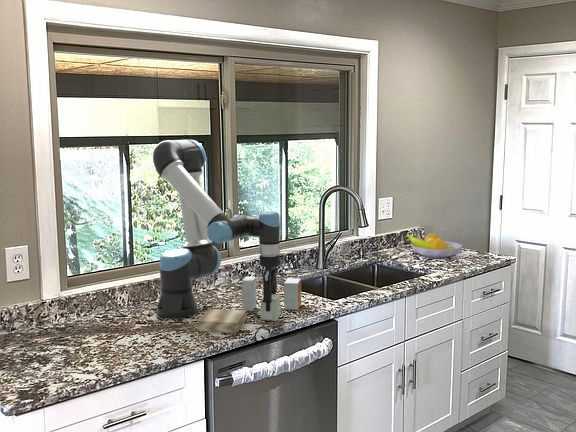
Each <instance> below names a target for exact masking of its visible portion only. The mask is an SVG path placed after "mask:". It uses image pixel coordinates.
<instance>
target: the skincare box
mask: <svg viewBox="0 0 576 432" xmlns="http://www.w3.org/2000/svg"><path fill="white" fill-rule="evenodd" d="M256 307H257V276H245V277H244V278H243V279H242V280H241V310H246V312H253V311H254V310H255V308H256Z"/></svg>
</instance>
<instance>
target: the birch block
mask: <svg viewBox="0 0 576 432" xmlns="http://www.w3.org/2000/svg"><path fill="white" fill-rule="evenodd" d="M247 314H248V313H247V311H246V310H242V309H224V308H222V309H221V308H208V309H207V310H206V311H205V312H204V313H203V315H202V316H201V317H200V318H199V319H198V320H197V321H196V323H197V324H196V326H197V332H211V333H229V334H230V333H231V334H234V333H235V334H237V333H239V331H240V330H241V328H242V327H243V326H244V324H245V323H246V321H247V318H248V317H247Z"/></svg>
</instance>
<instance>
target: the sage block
mask: <svg viewBox="0 0 576 432" xmlns="http://www.w3.org/2000/svg"><path fill="white" fill-rule="evenodd" d="M259 300H260V320H261V321H262V320H263V321H267V320H266V319H265V302H262V301H263V295H262V296H261V297H260V299H259ZM272 314H273V319H272V320H271V321H278V320H279V318H280V316H281V295H280V293H277V294H272Z"/></svg>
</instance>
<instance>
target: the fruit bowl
mask: <svg viewBox="0 0 576 432" xmlns="http://www.w3.org/2000/svg"><path fill="white" fill-rule="evenodd" d="M406 236H407V237H408V239H409V241H410V242H411V243H410V245H411V246H410V247H411V248H412V250H413V252H414V253H417V254H419V255H420V256H423V257H428V258H433V259H442V258H451V257H453V256H454V255H457V254H459V253H460V252H461V250H462V249H463V245H462V244H460V243H458V242H456V241H455V242H453V241H448V240H443V239H441V237H440V236H439V235H438V234H437V233H432V232H430V233H428V234H427V235H426V236H425V237H424V239H420V238H418V237H414V236H412V235H410V234H409V233H407V234H406Z"/></svg>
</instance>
